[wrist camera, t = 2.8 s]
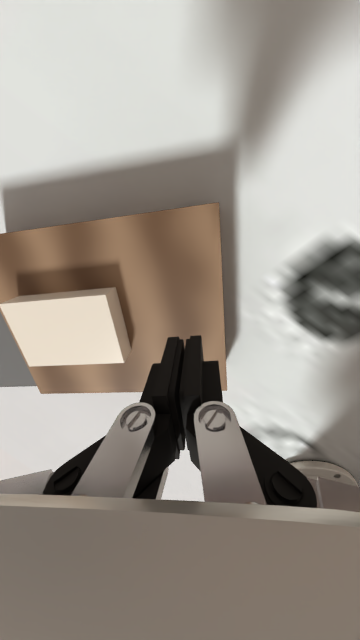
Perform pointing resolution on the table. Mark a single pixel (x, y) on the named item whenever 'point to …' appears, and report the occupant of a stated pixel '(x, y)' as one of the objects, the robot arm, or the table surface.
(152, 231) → the platform
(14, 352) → the mat
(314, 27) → the table surface
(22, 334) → the cream flat block
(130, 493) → the robot arm
